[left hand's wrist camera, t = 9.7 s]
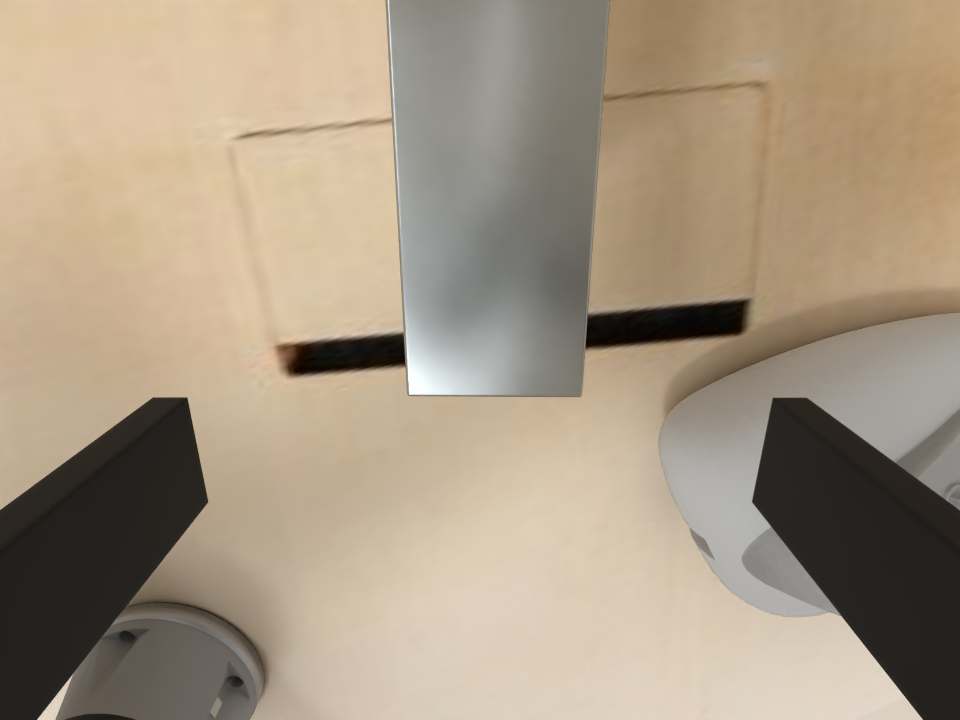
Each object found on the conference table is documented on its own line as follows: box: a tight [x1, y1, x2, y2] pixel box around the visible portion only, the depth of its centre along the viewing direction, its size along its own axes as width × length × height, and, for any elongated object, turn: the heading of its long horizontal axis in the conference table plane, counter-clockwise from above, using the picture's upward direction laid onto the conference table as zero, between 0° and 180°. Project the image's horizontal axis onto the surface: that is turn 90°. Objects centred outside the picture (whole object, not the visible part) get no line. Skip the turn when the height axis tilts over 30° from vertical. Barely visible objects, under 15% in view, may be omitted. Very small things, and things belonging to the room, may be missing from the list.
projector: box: [659, 312, 960, 617], centre depth 33 cm, size 22×23×15 cm
